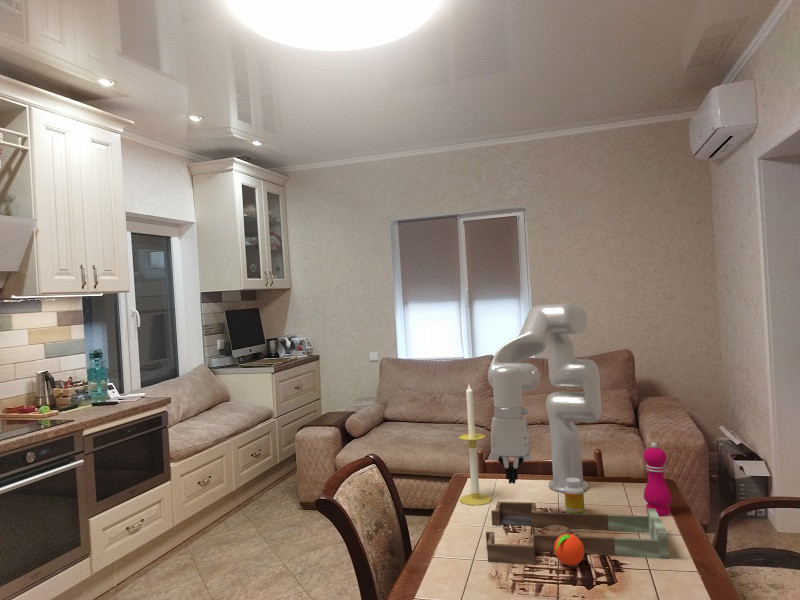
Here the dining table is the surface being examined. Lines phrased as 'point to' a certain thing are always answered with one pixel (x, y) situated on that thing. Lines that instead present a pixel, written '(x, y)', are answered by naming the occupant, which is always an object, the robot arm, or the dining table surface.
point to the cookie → (557, 530)
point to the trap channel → (592, 545)
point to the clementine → (569, 549)
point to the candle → (473, 456)
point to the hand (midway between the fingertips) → (512, 482)
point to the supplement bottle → (574, 496)
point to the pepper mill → (656, 481)
